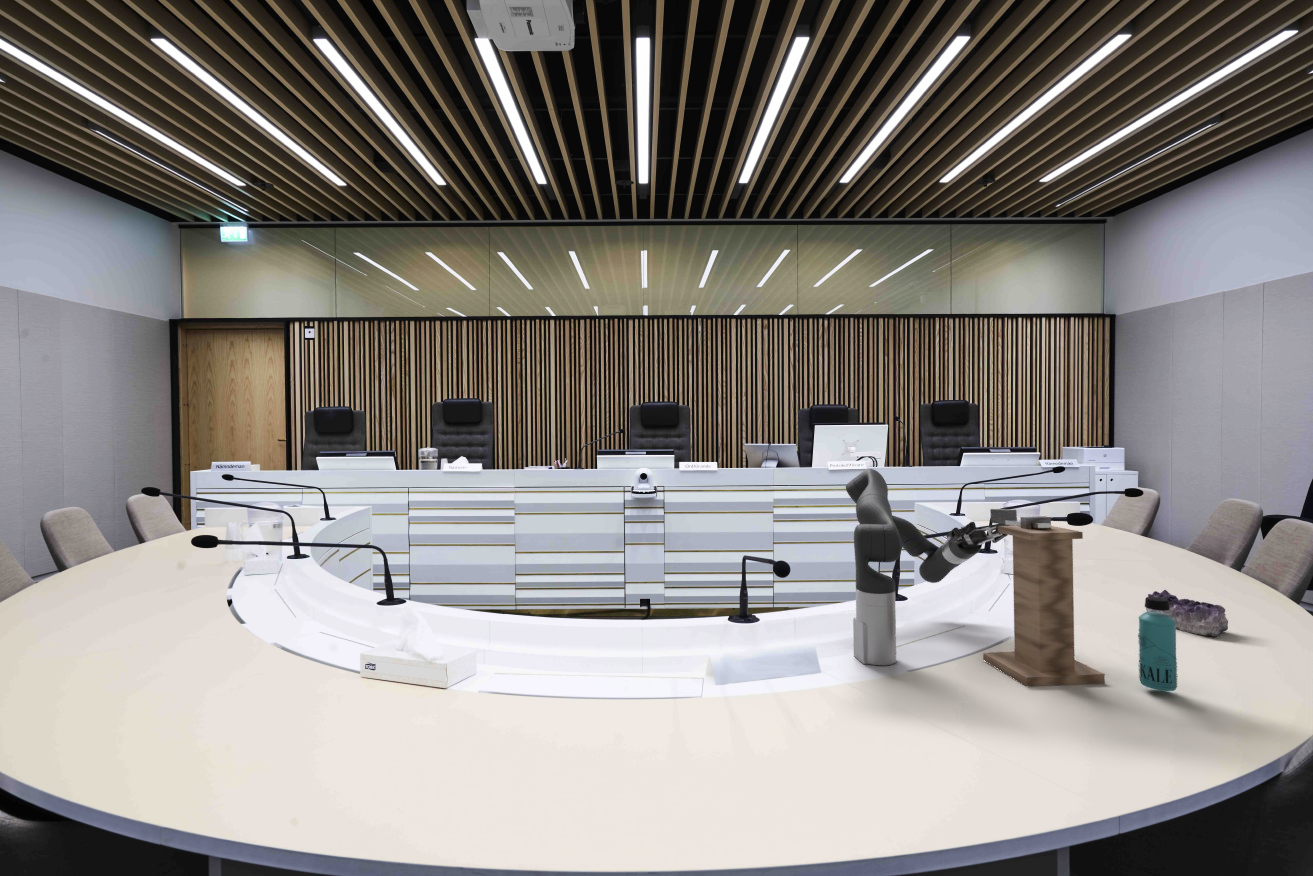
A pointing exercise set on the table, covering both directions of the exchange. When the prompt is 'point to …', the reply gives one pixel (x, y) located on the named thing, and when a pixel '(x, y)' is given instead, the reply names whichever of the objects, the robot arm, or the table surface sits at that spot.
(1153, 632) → the beverage bottle
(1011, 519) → the steel bar
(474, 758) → the table surface
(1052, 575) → the walnut pedestal
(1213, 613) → the geode
